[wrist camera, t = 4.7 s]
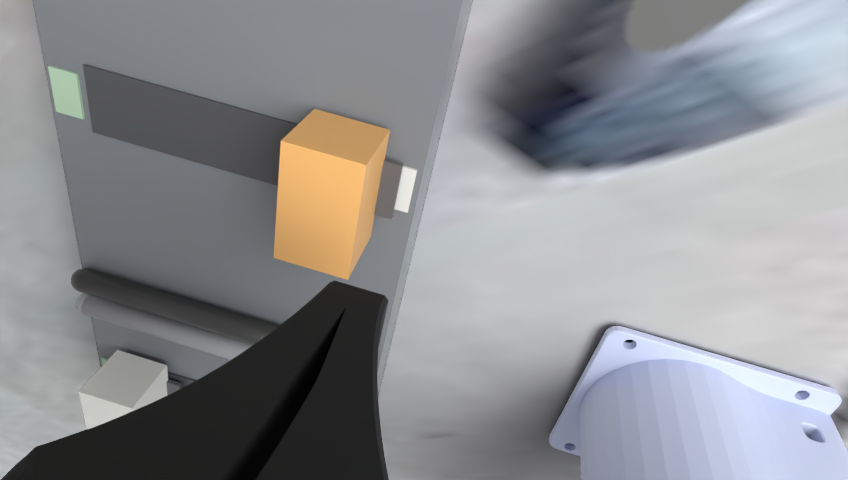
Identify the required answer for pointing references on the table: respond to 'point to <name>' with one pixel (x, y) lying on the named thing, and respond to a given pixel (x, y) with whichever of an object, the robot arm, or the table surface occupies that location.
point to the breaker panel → (229, 155)
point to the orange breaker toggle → (332, 191)
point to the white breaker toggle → (124, 387)
